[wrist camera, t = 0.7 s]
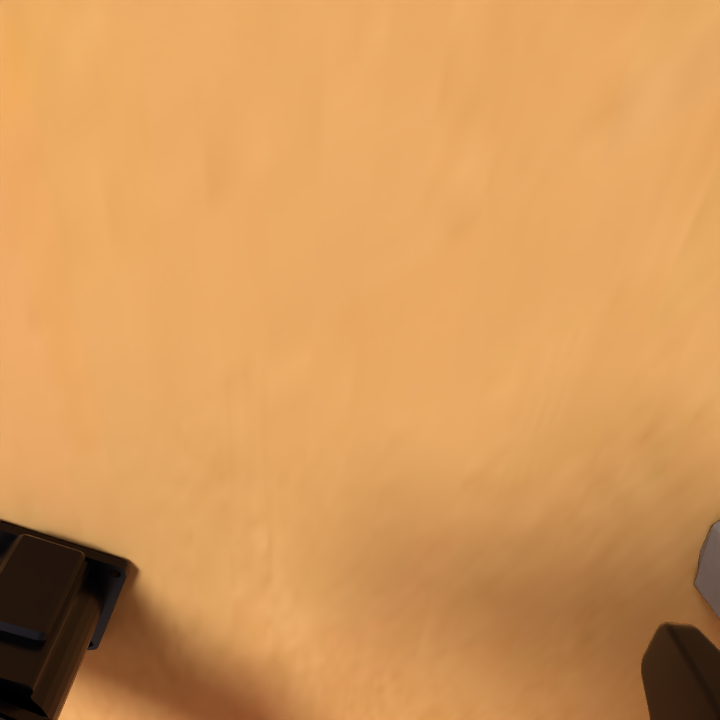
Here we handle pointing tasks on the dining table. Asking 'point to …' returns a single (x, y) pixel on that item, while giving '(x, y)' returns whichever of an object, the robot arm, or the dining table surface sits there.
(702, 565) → the coffeepot
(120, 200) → the dining table surface
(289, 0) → the dining table surface
